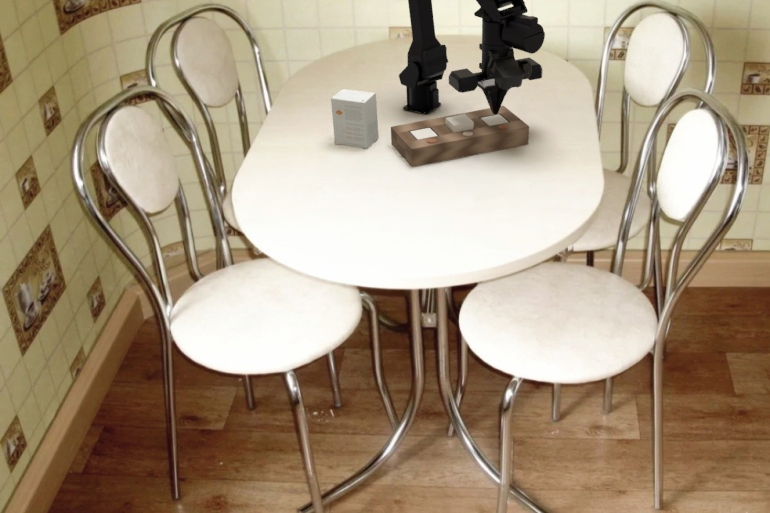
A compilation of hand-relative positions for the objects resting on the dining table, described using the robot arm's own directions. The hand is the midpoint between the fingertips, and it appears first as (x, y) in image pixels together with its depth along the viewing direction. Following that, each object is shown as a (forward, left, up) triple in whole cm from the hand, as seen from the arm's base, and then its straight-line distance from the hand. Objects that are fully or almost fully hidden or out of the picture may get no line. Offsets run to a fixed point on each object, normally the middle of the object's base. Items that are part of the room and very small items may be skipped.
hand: (494, 113), depth 200 cm
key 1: (-10, -13, -4) cm, 17 cm away
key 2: (0, 0, -5) cm, 5 cm away
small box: (-25, -15, -6) cm, 30 cm away
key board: (-5, -6, -5) cm, 10 cm away
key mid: (-5, -6, -3) cm, 9 cm away
